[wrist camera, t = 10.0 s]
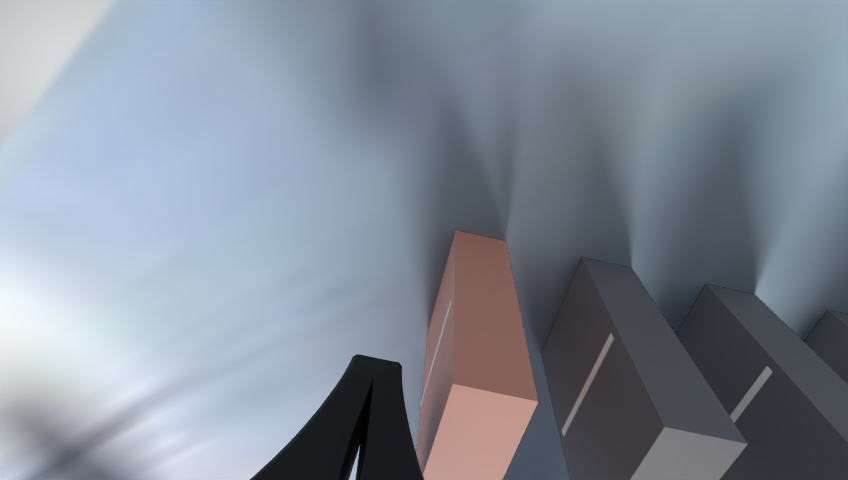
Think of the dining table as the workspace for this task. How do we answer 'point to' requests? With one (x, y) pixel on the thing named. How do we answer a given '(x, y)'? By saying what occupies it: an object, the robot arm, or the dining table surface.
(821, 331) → the domino
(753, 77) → the dining table surface
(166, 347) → the dining table surface
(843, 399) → the domino
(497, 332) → the salmon end domino
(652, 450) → the domino
